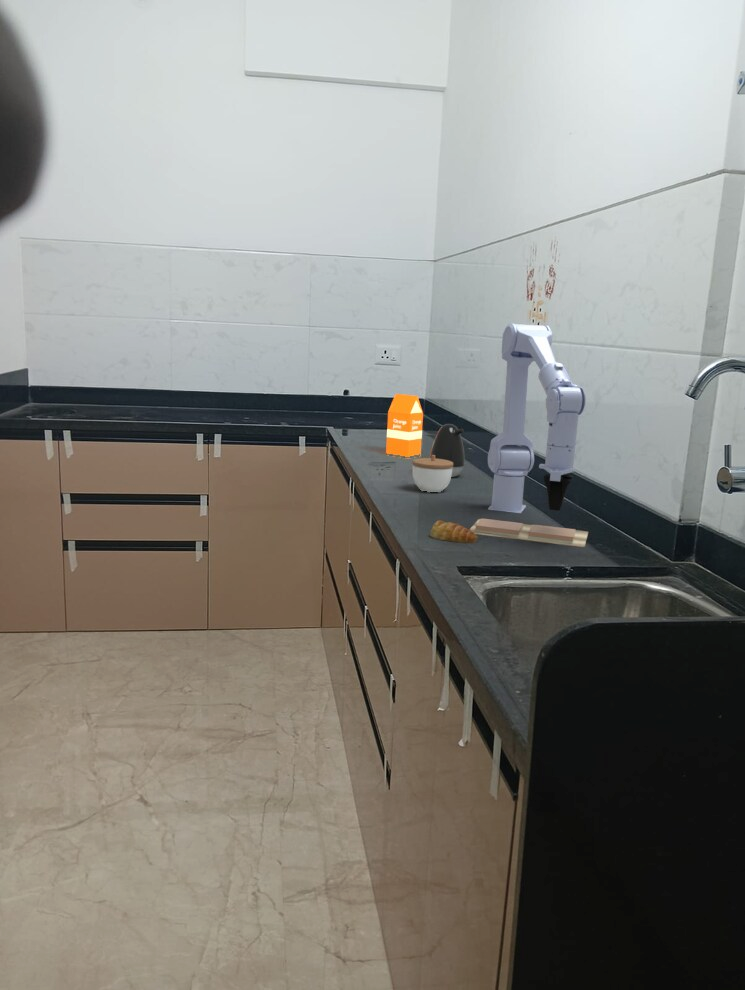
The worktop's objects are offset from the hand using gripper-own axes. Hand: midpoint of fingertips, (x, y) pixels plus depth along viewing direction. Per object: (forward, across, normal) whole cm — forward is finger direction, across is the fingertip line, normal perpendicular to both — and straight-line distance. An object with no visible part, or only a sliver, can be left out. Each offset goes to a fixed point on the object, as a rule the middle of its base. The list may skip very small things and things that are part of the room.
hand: (554, 509), depth 174 cm
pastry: (+7, +12, -19) cm, 23 cm away
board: (+6, 0, -5) cm, 8 cm away
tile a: (+5, -2, -11) cm, 12 cm away
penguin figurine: (+6, -60, -36) cm, 70 cm away
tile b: (+5, -2, 0) cm, 5 cm away
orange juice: (+6, -88, -57) cm, 105 cm away
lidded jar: (+6, -36, -35) cm, 51 cm away
